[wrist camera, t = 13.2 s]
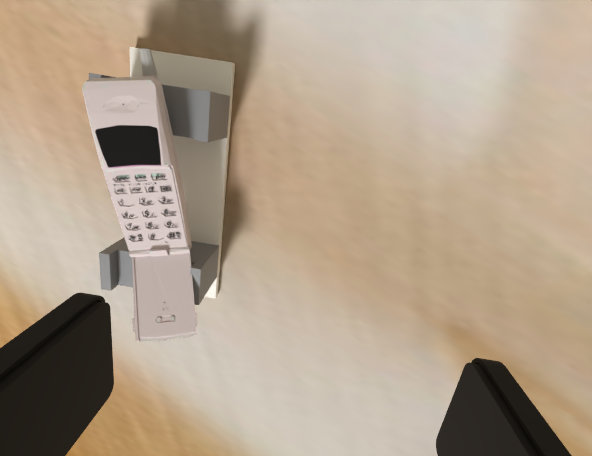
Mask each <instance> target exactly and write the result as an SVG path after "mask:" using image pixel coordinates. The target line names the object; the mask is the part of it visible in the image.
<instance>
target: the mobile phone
mask: <svg viewBox="0 0 592 456" xmlns="http://www.w3.org/2000/svg"><path fill="white" fill-rule="evenodd" d="M140 57H141V65H142V73H143V77H122V78H93V79H89V80H87V81H86V82H85V83H84V84H83V88H82V91H83V95H84V100H85V105H86V109H87V114H88V118H89V122H90V126H91V130H92V134H93V138H94V142H95V146H96V149H97V153H98V157H99V160H100V164H101V168H102V169H103V172H104V176H105V179H106V182H107V186H108V189H109V192H110V196H111V199H112V202H113V205H114V208H115V211H116V214H117V217H118V220H119V223H120V225H121V228H122V231H123V234H124V237H125V240H126V243H127V246H128V249H129V255H130V257H132V266H133V293H134V318H133V331H134V332H135V336H136V341H161V340H171V339H179V338H185V337H191V336H196V326H197V314H196V313H195V304H194V292H193V281H192V274H191V276H190V269H191V258H190V249H191V247H192V244H191V237H190V230H189V222H188V216H187V209H186V202H185V196H184V190H183V185H182V179H181V173H180V168H179V162H178V157H177V152H176V148H175V143H174V138H173V134H172V129H171V125H170V120H169V115H168V110H167V106H166V102H165V97H164V92H163V88H162V85H161V83H160V82H159V77H158V74H157V71H156V67H155V63H154V60H153V56H152V52H151V49H140Z"/></svg>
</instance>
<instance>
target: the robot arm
mask: <svg viewBox="0 0 592 456" xmlns="http://www.w3.org/2000/svg"><path fill="white" fill-rule="evenodd" d="M113 385H114V377H113V357H112V336H111V316H110V305H109V304H108V303H105V300H104V298H103V297H102V296H98V295H92V294H85V293H76V294H75V295H73V296H72V297H70V298H69V299H67V300H66V301H65V302H63V303H62V304H61V305H59V306H58V307H56V308H55V309H54V310H52V311H51V312H50V313H48V314H47V315H45V316H44V317H43V318H41V319H40V320H39V321H37V322H36V323H34V324H33V325H32V326H30V327H29V328H28V329H26V330H25V331H23V332H22V333H21V334H19V335H18V336H17V337H15V338H14V339H12V340H11V341H10V342H8V343H7V344H6V345H4V346H3V347H1V348H0V456H65V455H66V454H67V453H68V451H69V450H70V449H71V447H72V446H73V445H74V443H75V442H76V441H77V439H78V438H79V437H80V435H81V434H82V433H83V431H84V430H85V429H86V427H87V426H88V425H89V423H90V422H91V421H92V419H93V418H94V417H95V415H96V414H97V413H98V411H99V410H100V409H101V407H102V406H103V405H104V403H105V402H106V401H107V399H108V398H109V396H110V394H111V392H112V389H113ZM436 449H437V454H438V456H571V454H570V453H569V452H568V450H567V449H566V448H565V446H564V445H563V444H562V442H561V441H560V440H559V438H558V437H557V436H556V434H555V433H554V432H553V430H552V429H551V427H550V426H549V425H548V423H547V422H546V421H545V419H544V418H543V417H542V415H541V414H540V413H539V411H538V410H537V409H536V407H535V406H534V405H533V403H532V402H531V400H530V399H529V398H528V396H527V395H526V394H525V392H524V391H523V390H522V388H521V387H520V386H519V384H518V383H517V382H516V380H515V379H514V378H513V376H512V375H511V374H510V372H509V371H508V369H507V368H506V367H505V366H504V365H503V364H502V363H501V362H499V361H493V360H487V359H481V358H475V359H474V360H473V361H472V362H471V363H467V364H466V365H465V367H464V369H463V372H462V374H461V377H460V380H459V382H458V385H457V387H456V390H455V392H454V395H453V397H452V400H451V403H450V405H449V408H448V410H447V413H446V415H445V418H444V421H443V423H442V426H441V428H440V431H439V433H438V436H437V439H436Z"/></svg>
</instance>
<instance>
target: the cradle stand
mask: <svg viewBox="0 0 592 456" xmlns="http://www.w3.org/2000/svg"><path fill="white" fill-rule="evenodd" d="M140 49H141V48H134V47H130V77H143V73H142V65H141V57H140ZM151 52H152V56H153V60H154V63H155V67H156V71H157V74H158V77H159V82H160V83H161V85H162V88H163V92H164V97H165V102H166V106H167V110H168V115H169V120H170V125H171V129H172V134H173V138H174V143H175V148H176V152H177V157H178V162H179V168H180V173H181V179H182V185H183V190H184V196H185V202H186V209H187V216H188V222H189V230H190V237H191V244H192V247H191V249H190V258H191V269H190V276H191V274H192V281H193V292H194V304H195V305H199V304H200V302H201V301H202V299H203V298H204V297H209V298H216V297H217V295H218V286H219V273H220V259H221V246H222V233H223V219H224V206H225V193H226V179H227V166H228V153H229V139H230V126H231V113H232V99H233V86H234V73H235V64H234V63H233V62H227V61H220V60H214V59H207V58H200V57H194V56H187V55H180V54H174V53H167V52H161V51H154V50H151ZM93 78H116V77H110V76H104V75H99V74H92V73H89V79H93ZM99 258H100V275H101V289H104V290H110V291H111V290H112V289H114V288H115V287H116V286H117V285H122V286H128V287H133V266H132V257H130V255H129V249H128V246H127V243H126V240H125V237H124V238H122V239H121V240H119V241H118V242H116V243H114V244H113V245H111V246H110V247H108V248H106V249H105V250H103V251H102V252H100V253H99Z"/></svg>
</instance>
